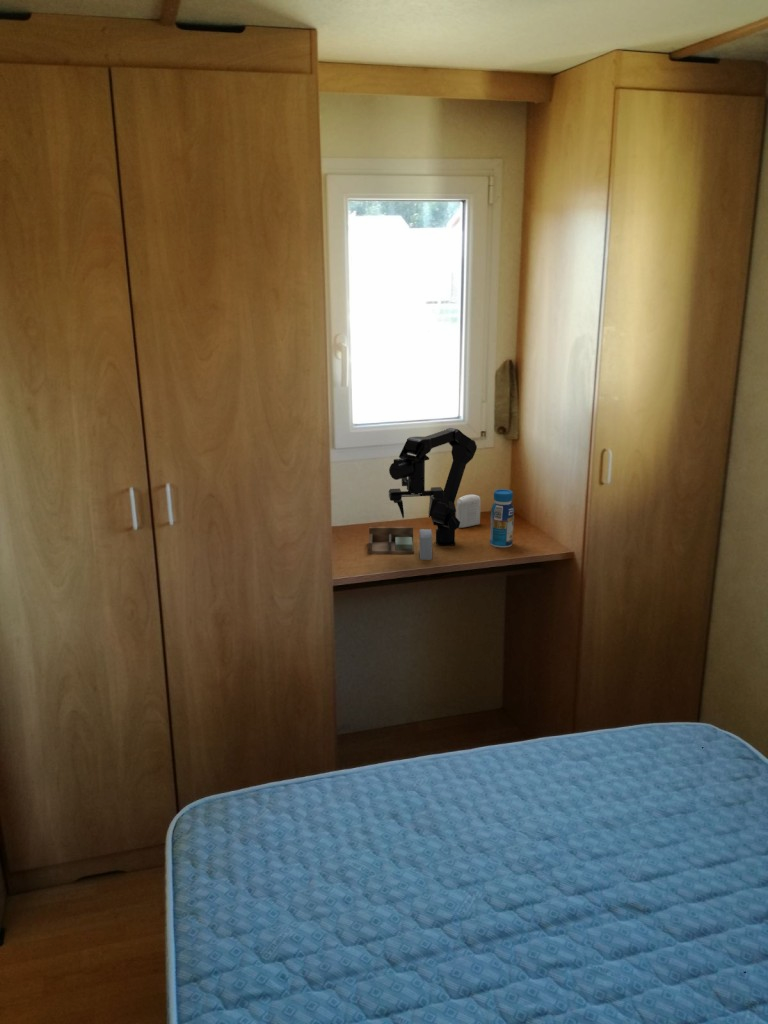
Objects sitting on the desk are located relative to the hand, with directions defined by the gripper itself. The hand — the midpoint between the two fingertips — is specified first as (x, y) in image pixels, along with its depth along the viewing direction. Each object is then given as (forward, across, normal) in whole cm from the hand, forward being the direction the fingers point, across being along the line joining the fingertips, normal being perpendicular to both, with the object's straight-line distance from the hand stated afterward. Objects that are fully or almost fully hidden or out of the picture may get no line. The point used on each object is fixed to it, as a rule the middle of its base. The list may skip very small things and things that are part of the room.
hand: (416, 517), depth 273 cm
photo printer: (+14, -24, -28) cm, 40 cm away
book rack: (+13, +8, -6) cm, 16 cm away
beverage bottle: (+14, -32, -6) cm, 35 cm away
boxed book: (+13, -3, +3) cm, 14 cm away
